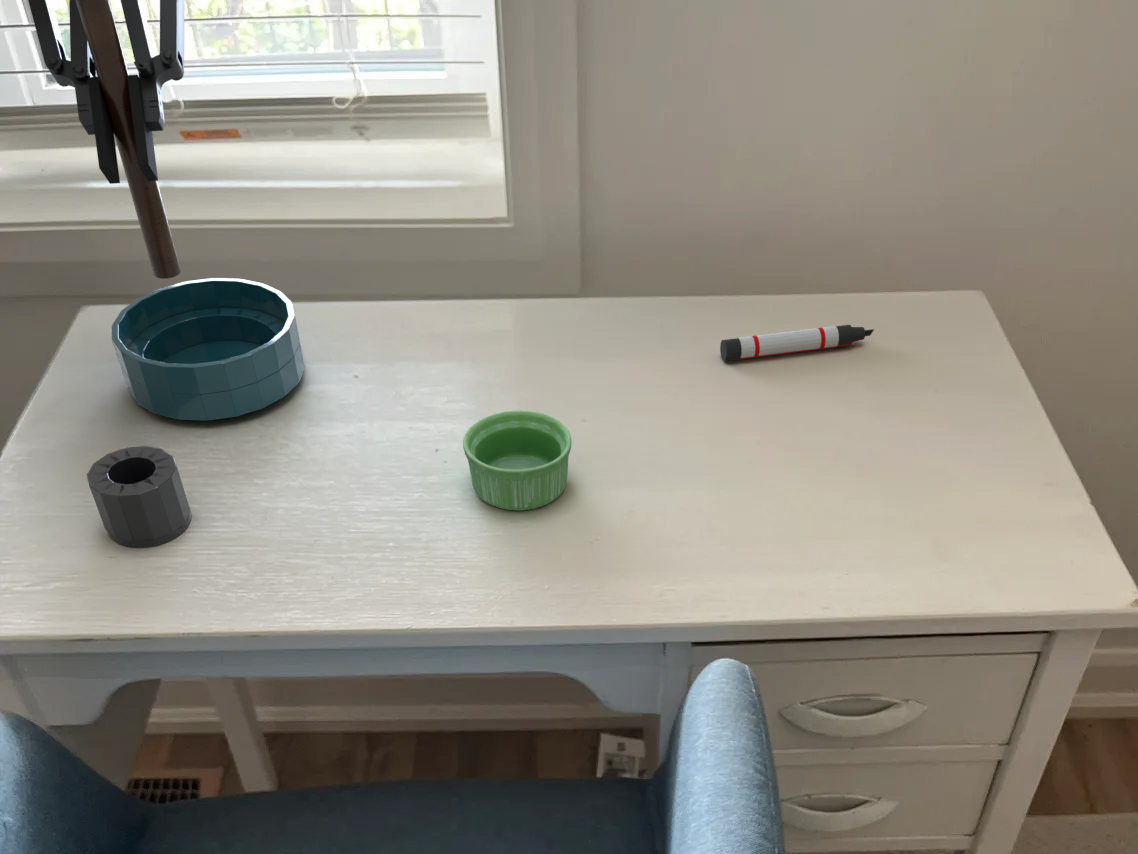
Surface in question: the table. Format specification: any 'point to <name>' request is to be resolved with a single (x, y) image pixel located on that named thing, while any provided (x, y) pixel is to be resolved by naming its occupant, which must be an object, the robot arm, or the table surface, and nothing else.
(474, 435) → the ramekin
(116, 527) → the crock
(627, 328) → the table surface
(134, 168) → the stick
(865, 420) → the table surface
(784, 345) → the marker
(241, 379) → the bowl
